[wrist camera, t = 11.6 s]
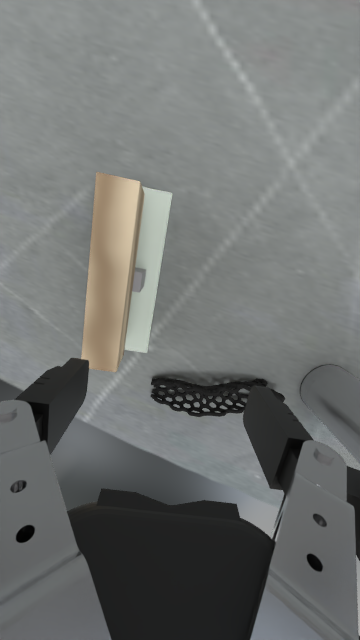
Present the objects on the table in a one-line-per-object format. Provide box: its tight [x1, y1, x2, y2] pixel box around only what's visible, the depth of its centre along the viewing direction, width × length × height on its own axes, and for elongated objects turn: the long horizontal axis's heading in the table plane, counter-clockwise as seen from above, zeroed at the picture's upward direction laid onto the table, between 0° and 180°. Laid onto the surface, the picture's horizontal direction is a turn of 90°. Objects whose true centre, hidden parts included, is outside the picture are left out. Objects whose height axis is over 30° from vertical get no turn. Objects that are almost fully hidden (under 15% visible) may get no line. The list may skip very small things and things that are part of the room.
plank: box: [81, 172, 145, 372], centre depth 27 cm, size 4×20×5 cm, turn 170°
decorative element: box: [151, 378, 285, 417], centre depth 40 cm, size 22×5×6 cm, turn 86°
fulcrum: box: [124, 187, 172, 353], centre depth 33 cm, size 10×24×7 cm, turn 169°
